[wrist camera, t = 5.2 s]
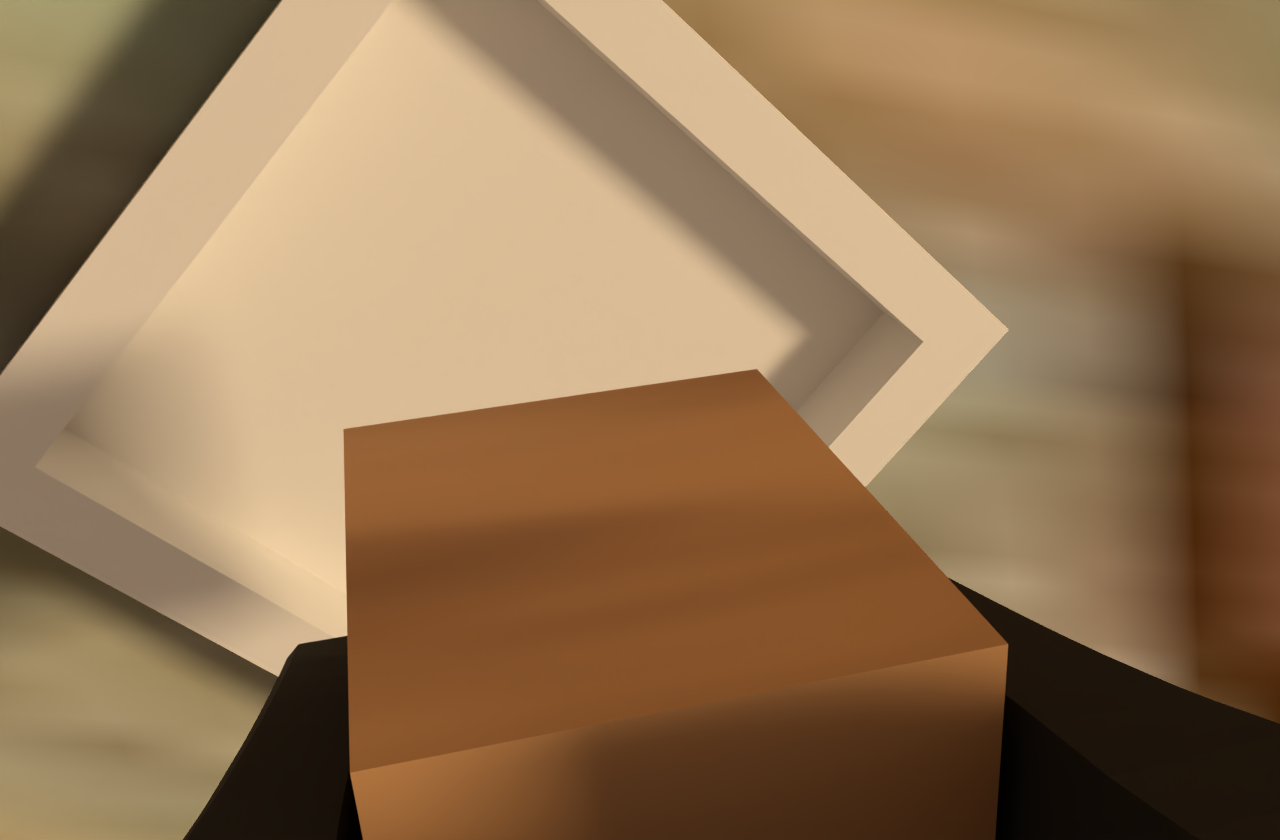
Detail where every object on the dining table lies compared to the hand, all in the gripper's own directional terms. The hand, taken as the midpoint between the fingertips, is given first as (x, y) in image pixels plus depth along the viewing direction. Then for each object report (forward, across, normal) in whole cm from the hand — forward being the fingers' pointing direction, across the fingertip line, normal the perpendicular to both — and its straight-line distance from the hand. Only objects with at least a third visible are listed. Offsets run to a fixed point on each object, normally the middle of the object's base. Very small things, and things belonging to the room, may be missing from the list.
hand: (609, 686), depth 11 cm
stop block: (+2, 0, 0) cm, 2 cm away
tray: (+9, 0, 0) cm, 9 cm away
